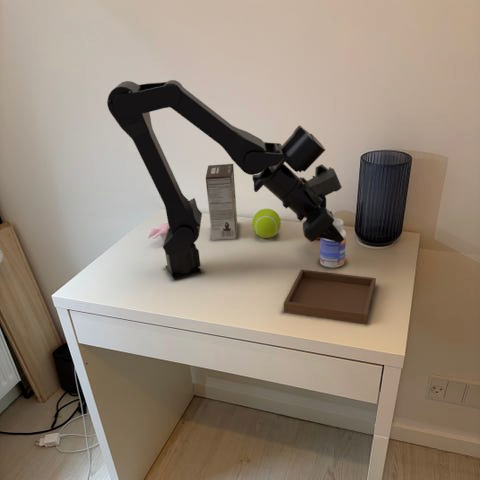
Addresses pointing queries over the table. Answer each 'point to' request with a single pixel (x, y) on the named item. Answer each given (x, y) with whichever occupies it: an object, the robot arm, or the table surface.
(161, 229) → the rabbit figure
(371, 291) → the tray
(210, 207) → the coffee box
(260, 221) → the tennis ball
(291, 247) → the table surface
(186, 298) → the table surface
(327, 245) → the pill bottle
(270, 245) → the table surface
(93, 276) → the table surface
